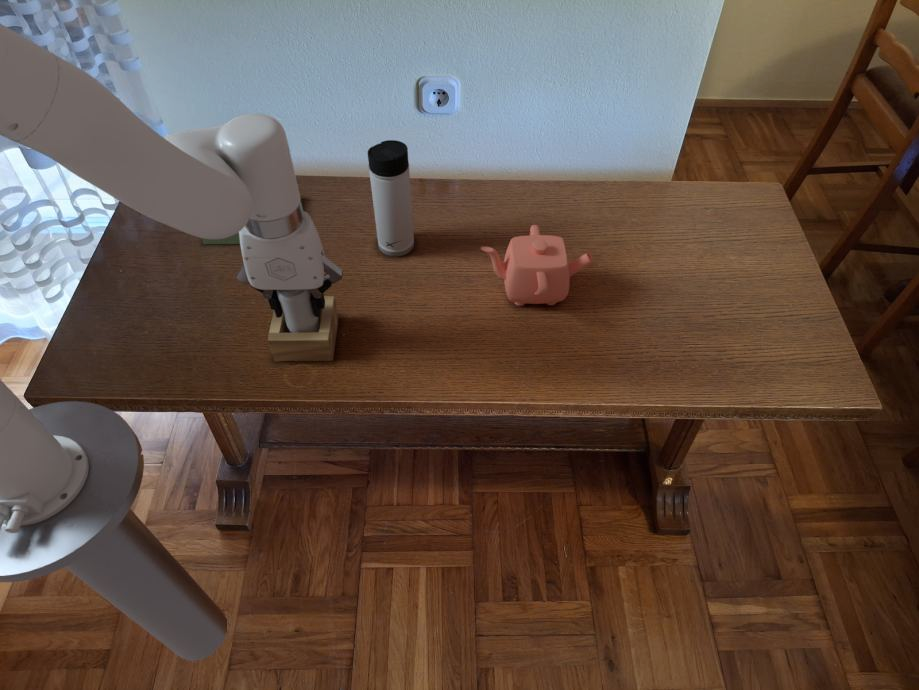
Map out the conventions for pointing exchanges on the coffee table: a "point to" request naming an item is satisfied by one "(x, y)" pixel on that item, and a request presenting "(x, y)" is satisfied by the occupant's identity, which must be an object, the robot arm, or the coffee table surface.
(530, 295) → the teapot
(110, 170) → the robot arm
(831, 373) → the coffee table surface
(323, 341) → the holder
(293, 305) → the beverage can
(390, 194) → the travel mug
